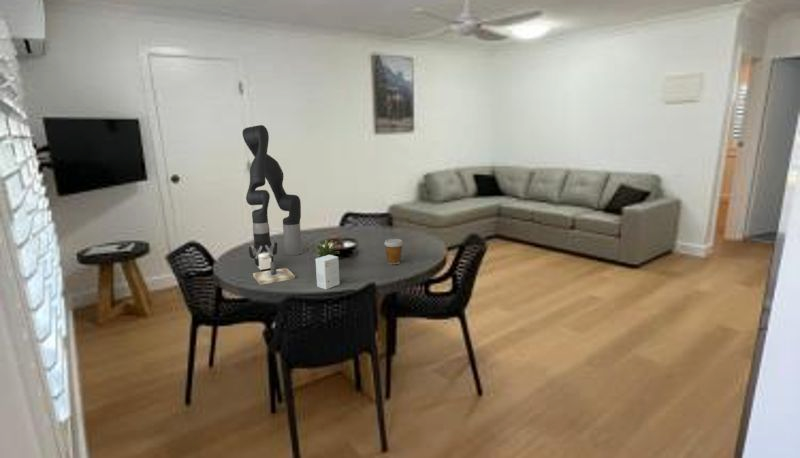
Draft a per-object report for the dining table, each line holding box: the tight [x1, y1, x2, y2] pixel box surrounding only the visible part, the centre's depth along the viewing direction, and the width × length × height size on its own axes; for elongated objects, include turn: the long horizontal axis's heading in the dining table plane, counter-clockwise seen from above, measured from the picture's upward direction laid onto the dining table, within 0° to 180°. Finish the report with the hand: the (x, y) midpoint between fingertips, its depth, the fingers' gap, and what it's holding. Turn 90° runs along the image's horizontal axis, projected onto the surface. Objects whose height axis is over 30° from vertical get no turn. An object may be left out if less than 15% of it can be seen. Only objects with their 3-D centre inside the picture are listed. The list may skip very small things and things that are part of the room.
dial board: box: [252, 260, 296, 286], centre depth 209 cm, size 16×14×8 cm
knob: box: [257, 251, 271, 271], centre depth 218 cm, size 6×6×8 cm
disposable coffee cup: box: [383, 238, 404, 263], centre depth 228 cm, size 10×10×12 cm
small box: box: [315, 254, 340, 290], centre depth 196 cm, size 8×6×13 cm
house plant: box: [315, 238, 341, 258], centre depth 214 cm, size 14×14×16 cm
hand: (264, 264), depth 218 cm, fingers closed on knob, 6 cm apart
